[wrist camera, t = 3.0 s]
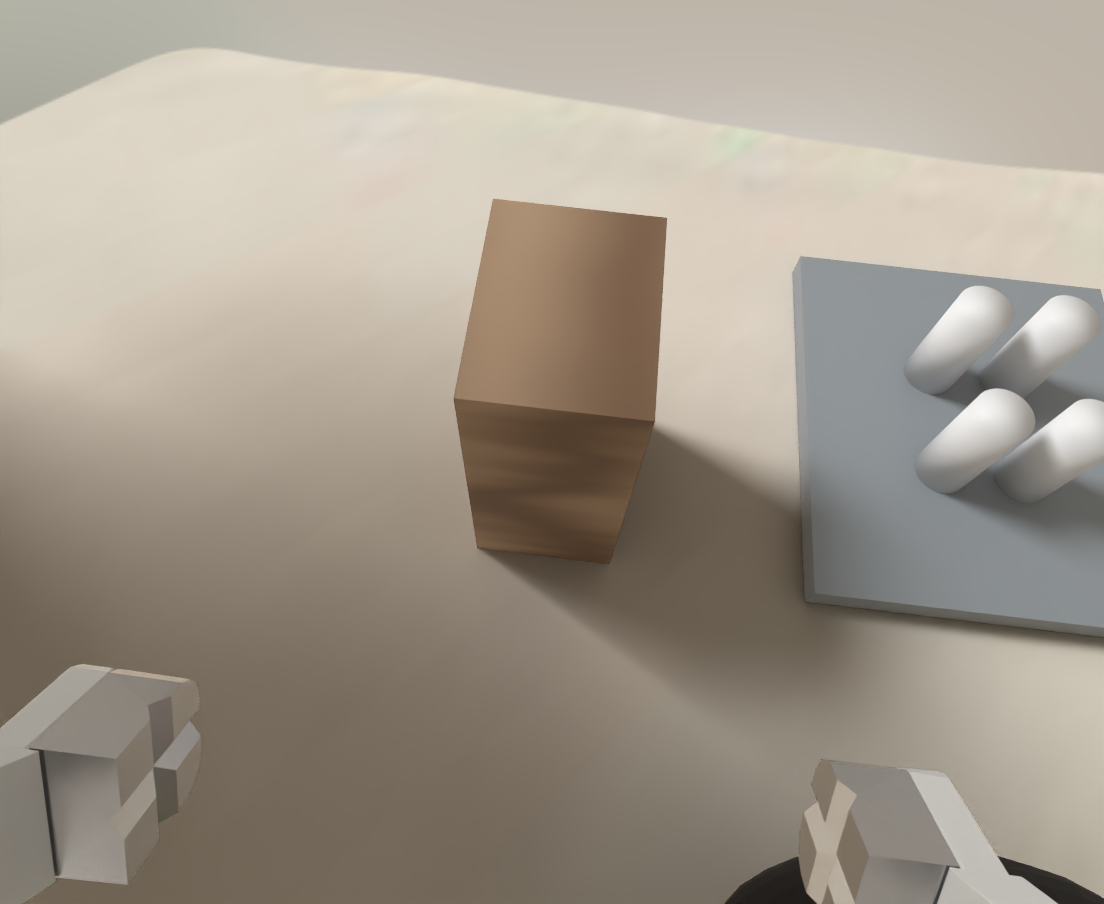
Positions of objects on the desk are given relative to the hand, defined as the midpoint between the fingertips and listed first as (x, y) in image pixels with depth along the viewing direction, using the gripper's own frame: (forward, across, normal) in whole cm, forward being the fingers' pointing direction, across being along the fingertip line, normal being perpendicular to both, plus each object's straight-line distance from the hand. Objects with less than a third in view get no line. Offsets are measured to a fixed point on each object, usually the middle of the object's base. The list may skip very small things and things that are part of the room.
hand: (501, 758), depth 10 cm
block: (+17, 0, +2) cm, 18 cm away
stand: (+20, -15, 0) cm, 25 cm away
